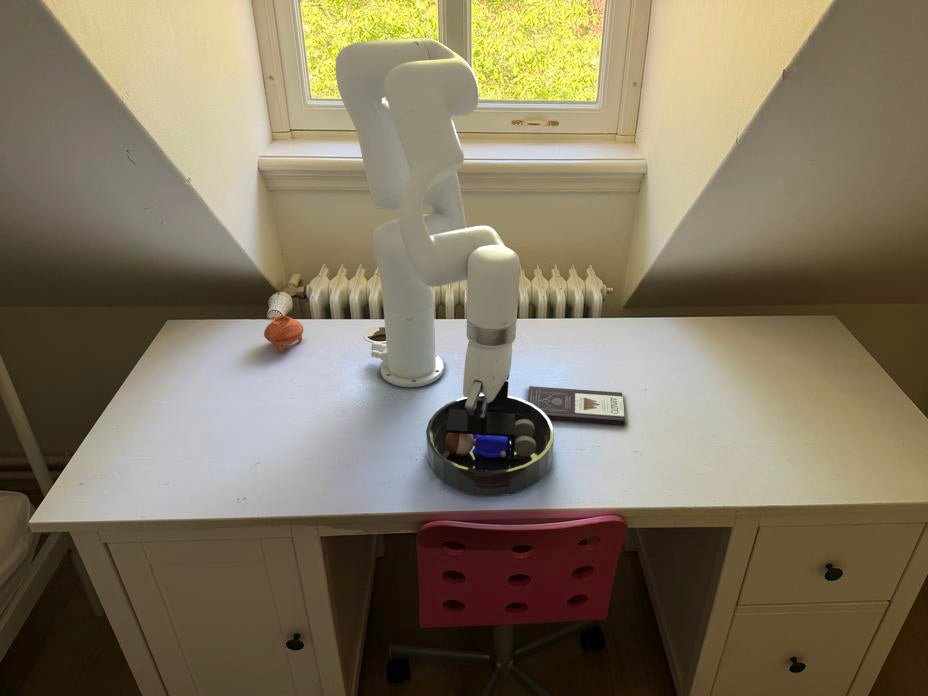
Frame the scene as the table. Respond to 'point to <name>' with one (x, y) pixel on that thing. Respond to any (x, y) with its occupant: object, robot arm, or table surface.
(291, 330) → the pot
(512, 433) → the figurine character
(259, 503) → the table surface
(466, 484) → the bowl
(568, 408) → the chocolate bar
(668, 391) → the table surface
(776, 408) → the table surface
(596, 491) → the table surface
